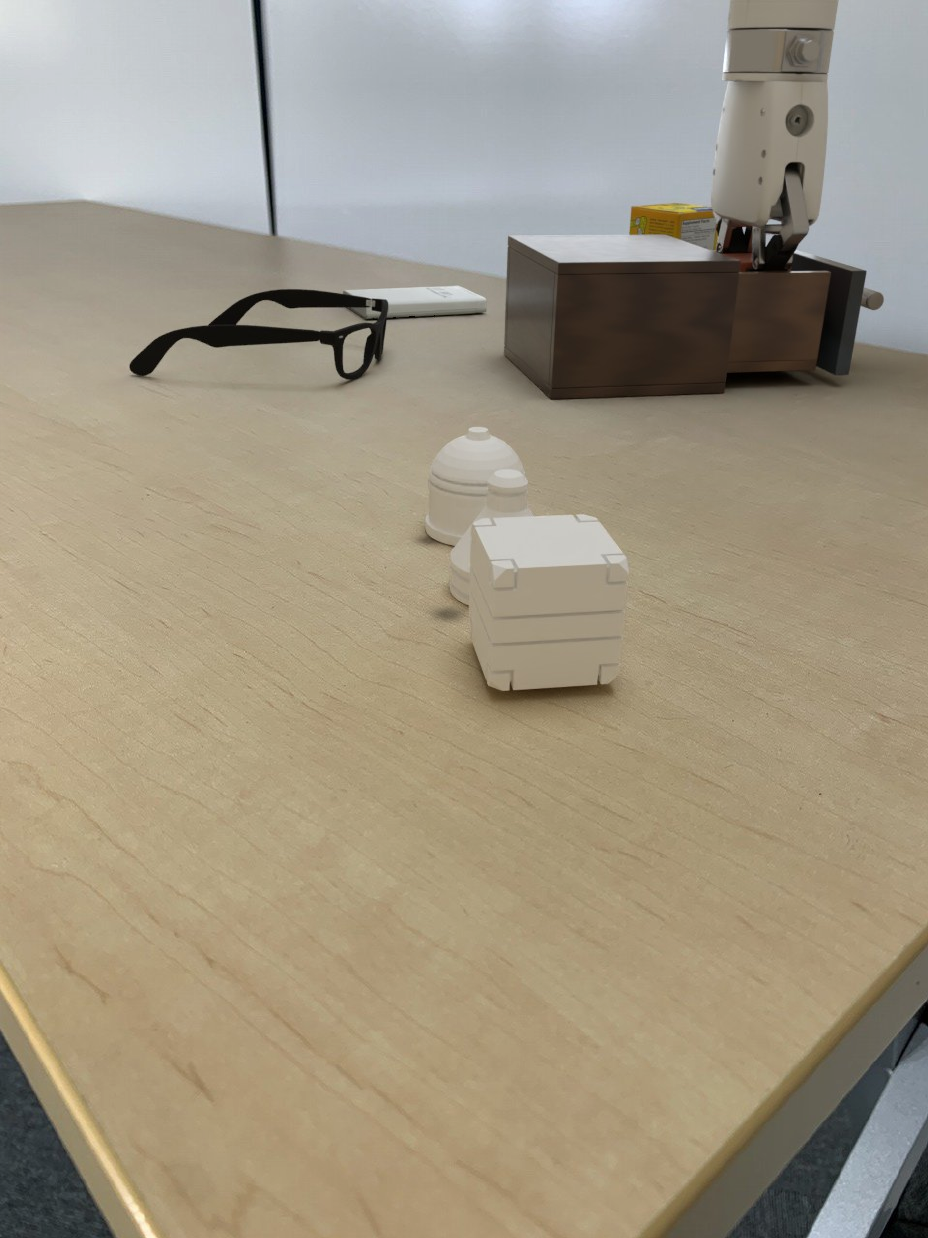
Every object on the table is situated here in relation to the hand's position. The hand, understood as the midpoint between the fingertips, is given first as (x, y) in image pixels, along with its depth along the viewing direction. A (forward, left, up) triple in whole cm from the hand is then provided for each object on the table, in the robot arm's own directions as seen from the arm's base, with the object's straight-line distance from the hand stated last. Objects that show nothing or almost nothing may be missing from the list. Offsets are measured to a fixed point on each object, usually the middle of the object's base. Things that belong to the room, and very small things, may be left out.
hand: (745, 312), depth 88 cm
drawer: (-2, 0, -4) cm, 4 cm away
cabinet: (+11, 0, -5) cm, 12 cm away
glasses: (+37, -7, -5) cm, 38 cm away
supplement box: (0, -16, -5) cm, 17 cm away
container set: (+29, +39, -5) cm, 49 cm away
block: (0, 0, 0) cm, 0 cm away
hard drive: (+22, -28, -5) cm, 36 cm away
